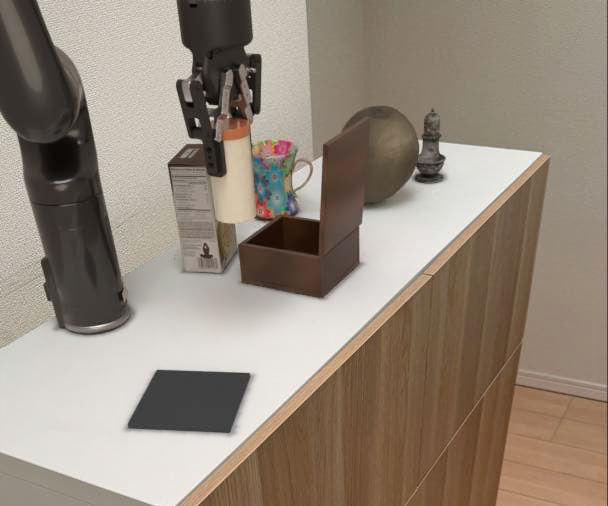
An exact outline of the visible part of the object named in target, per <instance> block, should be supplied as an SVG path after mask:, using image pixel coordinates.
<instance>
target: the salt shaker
mask: <svg viewBox="0 0 608 506" xmlns="http://www.w3.org/2000/svg"><path fill="white" fill-rule="evenodd" d="M440 127H441V116H440V114H438V113H437V112H435V108H434V107H431V109H430V112H429V113H427V114H425V116H424V118H423V132H422V134H421V135H420V138H422V144H421V145H422V146H421V150H420V152H419V156H418V161H417V165H416V168H415V169H416V170H417V171H418V172H419V173H417V174H416V175H415V176H414V180H415V181H416V182H418V183H421V184H434V183H439V182H441V181H443V179H444V176H443V175H442V174H440V173H439V172H440V171H441V170H442V169H443V167H444V165H445V161H446V160H447V157H446V156H445V155H444V154H442V153H440V139H441V137H442V134H441V133H440Z"/></svg>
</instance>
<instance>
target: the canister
mask: <svg viewBox="0 0 608 506" xmlns="http://www.w3.org/2000/svg"><path fill="white" fill-rule="evenodd" d="M210 122H211V127H212V129H213V127H214V119H212V120H210ZM250 128H251V125H250V122H249V121H248V120H246V119H242V118H230V117H227V118H226V119H224V122H223V135H222V140H221V141H223V142H224V151H225V161H226V170H227V173H226V175H225V176H223V177H221V178H220V177H212V176H210V177H211V186H212V194H213V203H214V211H215V218H216V219H217V220H218V221H220V222H223V223H235V224H241V223H247V222H249V221H252V220H253V219H255V218H256V217H257V216H256V202H255V190H254V178H253V165H252V153H251V143H252V142H251V141H250V133H251V134H252V130H250Z"/></svg>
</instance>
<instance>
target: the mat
mask: <svg viewBox="0 0 608 506" xmlns="http://www.w3.org/2000/svg"><path fill="white" fill-rule="evenodd" d="M250 378H251V373H250V372H238V371H237V372H235V371H210V370H209V371H207V370H206V371H205V370H182V369H181V370H179V369H177V370H176V369H175V370H174V369H156V371H155V373H154V374H153V376H152V378H151V380H150V382H149V383H148V385H147V387H146V389H145V391H144V393H143V395H142V396H141V399H139V402H138V404H137V406H136V407H135V409H134V410H133V413H132V415H131V417H130V418H129V421H128V423H127V427H128V429H142V430H143V429H144V430H145V429H147V430H164V431H165V430H166V431H167V430H168V431H189V432H207V433H208V432H210V433H211V432H212V433H230V432H231V430H232V427H233V425H234V422H235V419H236V416H237V414H238V410H239V408H240V406H241V403H242V399H243V397H244V395H245V392H246V390H247V387H248V383H249V380H250Z"/></svg>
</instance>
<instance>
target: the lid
mask: <svg viewBox="0 0 608 506" xmlns="http://www.w3.org/2000/svg"><path fill="white" fill-rule="evenodd" d="M370 119H371V118H369V117H364V118H363V119H361V120H360V121H358V122H357V123H355V124H354V125H352V126H351V127H349V128H347V129H346V130H344V131H343V132H341V131H340V133H338V134H336V135H335V136H333V137H332V138H330V139H328V140H327V141H326V142H324V143H322V158H321V159H322V161H321V162H322V163H321V185H320V208H319V220H320V228H319V251H318V255H321V256H324V255H325V254H326V253H327V252H329V251H330V250H331V249H332V248H333V247H335V246H336V245H337V244H338V243H339V242H341V241H342V240H343V239H344V238H345V237H346V236H348V235H349V234H350V233H351V232H352V231H354V230H355V229H356V228H357V227H358V226H359V227H361V225H362V224H363V216H364V215H363V214H364V204H365V203H364V192H365V180H366V168H367V156H368V144H369V131H370Z"/></svg>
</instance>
